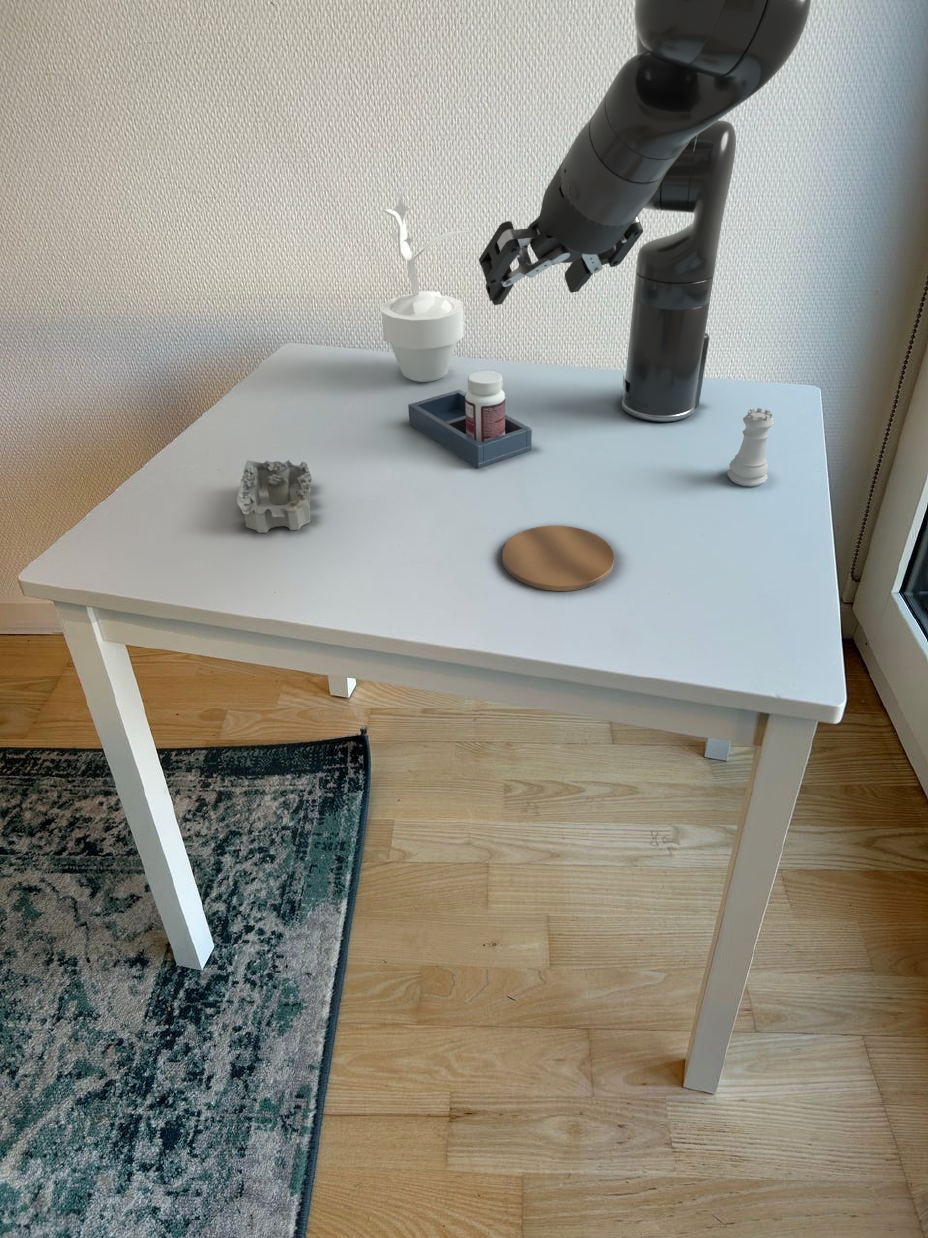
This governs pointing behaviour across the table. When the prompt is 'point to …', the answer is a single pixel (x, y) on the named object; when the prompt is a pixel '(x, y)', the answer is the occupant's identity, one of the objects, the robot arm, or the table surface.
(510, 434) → the holder
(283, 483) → the egg carton
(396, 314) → the potted plant
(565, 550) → the disc
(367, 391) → the table surface
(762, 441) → the rook chess piece
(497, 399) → the pill bottle
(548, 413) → the table surface
